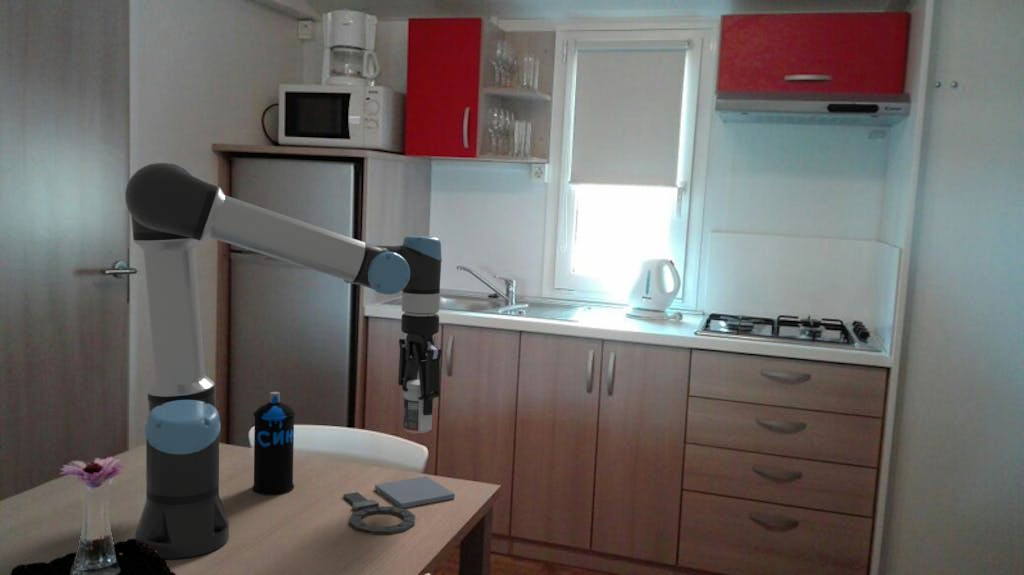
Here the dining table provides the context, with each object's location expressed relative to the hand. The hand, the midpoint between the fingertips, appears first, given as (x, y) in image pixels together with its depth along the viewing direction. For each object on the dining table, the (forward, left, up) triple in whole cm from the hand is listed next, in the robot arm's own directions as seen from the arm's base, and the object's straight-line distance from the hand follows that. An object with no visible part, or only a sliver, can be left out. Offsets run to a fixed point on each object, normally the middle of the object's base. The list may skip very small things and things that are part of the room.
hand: (417, 425), depth 173 cm
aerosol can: (-24, +16, -15) cm, 32 cm away
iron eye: (-12, -6, -14) cm, 20 cm away
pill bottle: (0, 0, -1) cm, 1 cm away
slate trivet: (0, 0, -14) cm, 14 cm away
